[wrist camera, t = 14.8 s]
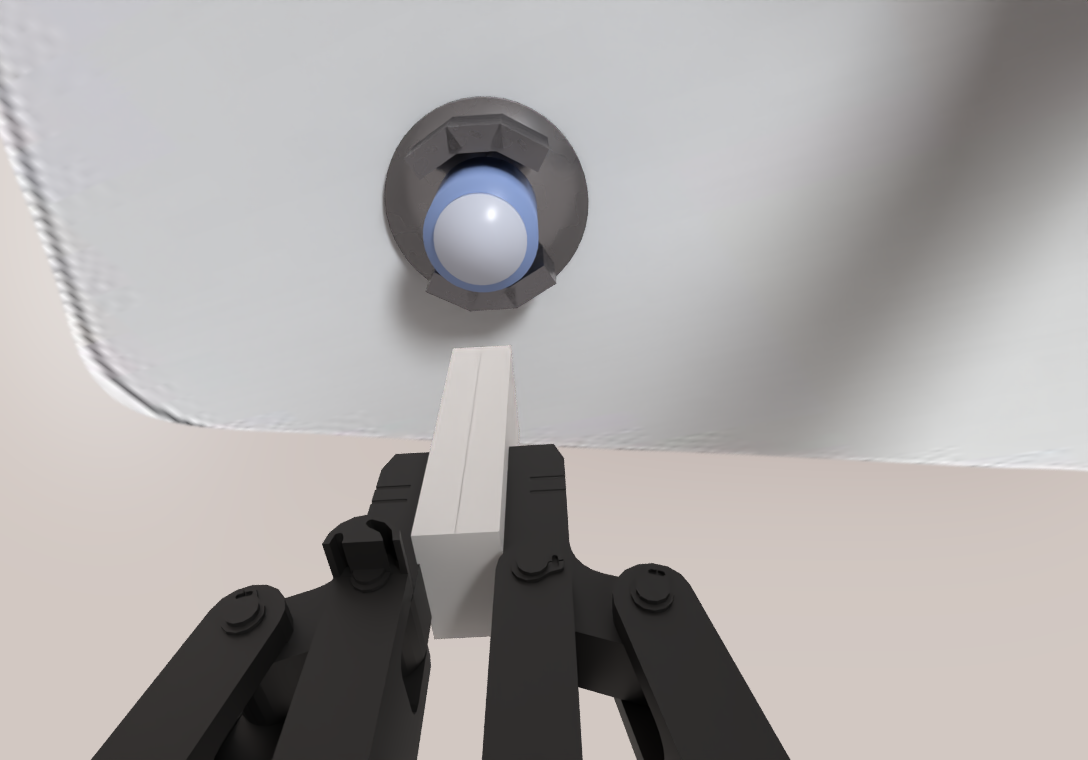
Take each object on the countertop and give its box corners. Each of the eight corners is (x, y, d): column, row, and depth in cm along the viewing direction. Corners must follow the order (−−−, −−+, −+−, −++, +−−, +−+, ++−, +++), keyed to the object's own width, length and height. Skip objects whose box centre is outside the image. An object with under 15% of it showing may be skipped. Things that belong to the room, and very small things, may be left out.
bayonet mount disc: (368, 103, 32) (352, 114, 29) (585, 89, 32) (590, 99, 29) (405, 302, 38) (395, 329, 35) (589, 291, 38) (595, 316, 35)
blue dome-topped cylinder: (428, 160, 33) (412, 187, 29) (533, 152, 33) (534, 178, 29) (443, 260, 36) (431, 299, 32) (540, 253, 36) (542, 291, 32)
